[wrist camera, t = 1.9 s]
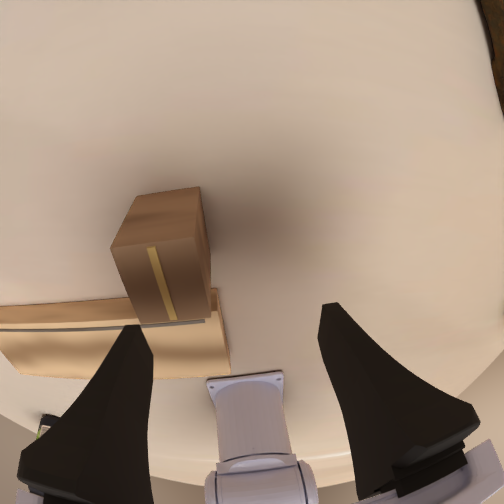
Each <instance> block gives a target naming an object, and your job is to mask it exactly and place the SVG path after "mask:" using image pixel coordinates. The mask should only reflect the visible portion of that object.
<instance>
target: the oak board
mask: <svg viewBox="0 0 504 504" xmlns="http://www.w3.org/2000/svg"><path fill="white" fill-rule="evenodd" d="M133 324H139V325H140V327H141V329H142V332H143V334H144V336H145V338H146V340H147V343H148V345H149V347H150V349H151V351H152V353H153V355H154V369H153V379H175V378H192V377H205V376H216V375H226V374H231V366H230V354H229V349H228V344H227V339H226V334H225V329H224V324H223V319H222V314H221V309H220V304H219V299H218V294H217V288H214V289H211V318H203V319H193V320H183V321H172V322H160V323H148V324H140V322H139V319H138V317H137V315H136V313H135V310H134V308H133V306H132V303H131V301H130V299H129V297H128V298H117V299H105V300H93V301H81V302H68V303H54V304H38V305H22V306H3V307H0V350H1V352H2V353H3V354H4V355H5V357H6V358H7V359H8V360H9V361H10V363H11V364H12V365H13V366H14V367H15V369H16V370H17V371H18V372H19V373H20V374H24V375H33V376H43V377H55V378H70V379H92V377H93V376H94V374H95V373H96V371H97V370H98V368H99V367H100V365H101V363H102V362H103V360H104V359H105V357H106V355H107V354H108V352H109V351H110V349H111V347H112V346H113V344H114V342H115V341H116V339H117V337H118V336H119V334H120V332H121V331H122V329H123V327H124V326H125V325H133Z"/></svg>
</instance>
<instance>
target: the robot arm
mask: <svg viewBox="0 0 504 504" xmlns="http://www.w3.org/2000/svg"><path fill="white" fill-rule="evenodd" d="M318 342H319V346H320V351H321V354H322V358H323V362H324V364H325V367H326V370H327V372H328V375H329V378H330V380H331V383H332V385H333V388H334V391H335V393H336V396H337V399H338V401H339V404H340V407H341V410H342V414H343V418H344V422H345V426H346V430H347V435H348V440H349V444H350V449H351V455H352V461H353V467H354V474H355V482H356V491H357V495H358V499H359V502H356V503H353V504H481V503H483V502H484V501H485V500H487V499H488V498H489V497H490V496H492V495H493V494H494V493H496V492H497V491H498V490H500V489H501V488H502V487H503V486H504V471H503V468H502V466H501V463H500V461H499V459H498V456H497V454H496V451H495V449H494V447H493V444H492V443H491V440H490V439H488V440H486V441H484V442H483V443H481V444H480V445H478V446H476V447H475V448H473V449H471V450H470V451H468V452H467V453H465V454H464V452H463V450H462V449H463V448H465V444H464V442H463V440H464V439H465V438H466V437H467V436H468V435H470V434H471V433H472V432H473V431H475V430H476V429H477V428H478V427H479V425H480V420H479V418H478V416H477V414H476V412H475V410H474V408H473V406H472V405H471V404H469V403H467V402H464V401H462V400H459V399H457V398H455V397H453V396H451V395H449V394H447V393H445V392H443V391H441V390H439V389H437V388H435V387H434V386H432V385H430V384H429V383H427V382H426V381H424V380H422V379H421V378H419V377H417V376H416V375H415V374H413V373H412V372H410V371H409V370H408V369H406V368H405V367H404V366H402V365H401V364H400V363H398V362H397V361H396V360H395V359H394V358H392V357H391V356H390V355H389V354H388V353H387V352H386V351H384V350H383V349H382V348H381V347H380V346H379V345H378V344H377V343H376V342H375V341H374V340H373V339H372V338H371V337H370V336H369V335H368V334H367V333H366V332H365V331H364V330H363V329H362V328H361V327H360V326H359V325H358V324H357V323H356V322H355V321H354V320H353V319H352V318H351V316H350V315H349V314H348V313H347V312H346V311H345V310H344V309H343V308H342V307H341V305H340V304H339V303H337V302H335V303H329V304H323V305H322V312H321V319H320V325H319V332H318ZM153 369H154V355H153V353H152V351H151V349H150V347H149V345H148V343H147V340H146V338H145V336H144V334H143V332H142V329H141V327H140V325H139V324H133V325H125V326H124V327H123V329H122V331H121V332H120V334H119V336H118V337H117V339H116V341H115V342H114V344H113V346H112V347H111V349H110V351H109V352H108V354H107V355H106V357H105V359H104V360H103V362H102V363H101V365H100V367H99V368H98V370H97V371H96V373H95V374H94V376H93V377H92V379H91V380H90V381H89V383H88V384H87V386H86V387H85V389H84V390H83V391H82V393H81V394H80V395H79V397H78V398H77V399H76V400H75V402H74V403H73V404H72V405H71V406H70V407H69V409H68V410H67V411H66V412H65V413H64V414H63V415H62V416H61V417H60V418H59V420H58V421H57V422H56V423H55V424H54V425H52V426H51V427H50V428H49V429H48V430H47V431H46V432H45V433H44V434H43V435H42V436H40V437H39V438H38V439H37V440H35V441H34V442H33V443H32V444H30V445H29V446H28V447H26V448H25V449H24V450H22V452H21V456H20V461H19V467H18V473H17V478H18V479H19V480H20V481H22V482H23V483H25V484H27V485H29V486H31V487H33V488H35V489H37V490H39V491H41V492H43V493H44V498H42V497H40V496H37V495H35V494H32V493H29V492H26V491H24V490H21V489H17V496H16V504H154V502H153V496H152V490H151V482H150V474H149V462H148V442H147V430H148V418H149V409H150V401H151V393H152V385H153ZM283 380H284V375H283V372H280V371H278V372H271V373H265V374H257V375H250V376H241V377H233V378H223V379H212V380H208V381H206V385H207V388H208V391H209V393H210V396H211V398H212V401H213V404H214V406H215V409H216V418H217V433H218V447H219V460H220V463H216V467H217V471H211V472H210V474H209V475H208V476H207V477H206V479H205V502H206V504H318V492H317V486H316V482H315V478H314V474H313V471H312V469H311V467H310V465H309V464H307V463H305V462H304V461H303V460H300V461H297V459H296V454H292V450H291V445H290V440H289V435H288V430H287V425H286V421H285V416H284V411H283ZM379 494H380V495H379ZM376 495H378V496H376ZM373 496H375V497H373ZM370 497H372V498H370ZM367 498H369V499H367ZM364 499H366V500H364ZM361 500H363V501H361Z"/></svg>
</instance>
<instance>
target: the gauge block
mask: <svg viewBox="0 0 504 504" xmlns="http://www.w3.org/2000/svg"><path fill="white" fill-rule="evenodd" d="M110 250H111V252H112V255H113V258H114V261H115V263H116V266H117V269H118V271H119V274H120V276H121V279H122V281H123V284H124V286H125V289H126V291H127V294H128V296H129V299H130V301H131V303H132V306H133V308H134V310H135V313H136V315H137V317H138V319H139V322H140V324H148V323H160V322H172V321H183V320H193V319H203V318H211V263H210V249H209V243H208V237H207V231H206V225H205V219H204V213H203V207H202V201H201V194H200V188H199V187H192V188H185V189H178V190H171V191H165V192H159V193H152V194H146V195H140V196H137V197H136V199H135V200H134V202H133V204H132V206H131V208H130V210H129V212H128V214H127V215H126V217H125V219H124V221H123V223H122V225H121V227H120V229H119V231H118V233H117V235H116V237H115V239H114V241H113V243H112V245H111V247H110Z"/></svg>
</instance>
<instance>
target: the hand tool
mask: <svg viewBox="0 0 504 504" xmlns="http://www.w3.org/2000/svg"><path fill="white" fill-rule="evenodd" d="M480 1H481V4H482V8H483V12H484V14H485V17H486V20H487V24H488V27H489V31H490V35H491V38H492V43H493V48H494V53H495V58H494V59H493V60H492V62H491V66H492V71H493V76H494V80H495V85H496V88H497V92H498V96H499V100H500V103H501V107H502V111H503V114H504V0H480Z"/></svg>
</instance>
